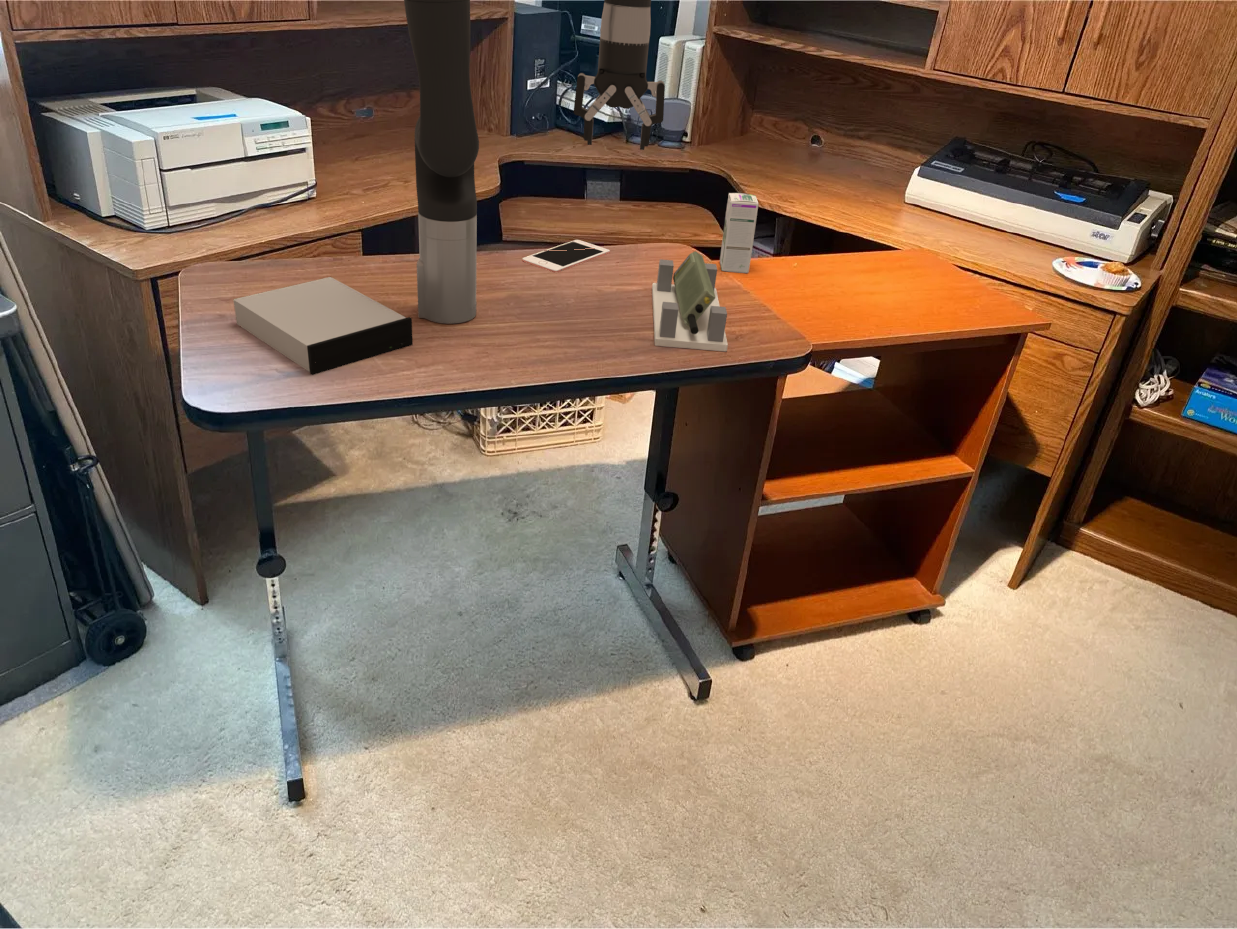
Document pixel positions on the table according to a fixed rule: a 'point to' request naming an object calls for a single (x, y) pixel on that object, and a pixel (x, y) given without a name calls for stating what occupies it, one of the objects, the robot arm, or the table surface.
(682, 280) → the handheld radio
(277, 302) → the disc drive
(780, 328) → the table surface
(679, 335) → the rack
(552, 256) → the cell phone
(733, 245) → the syrup box
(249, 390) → the table surface
